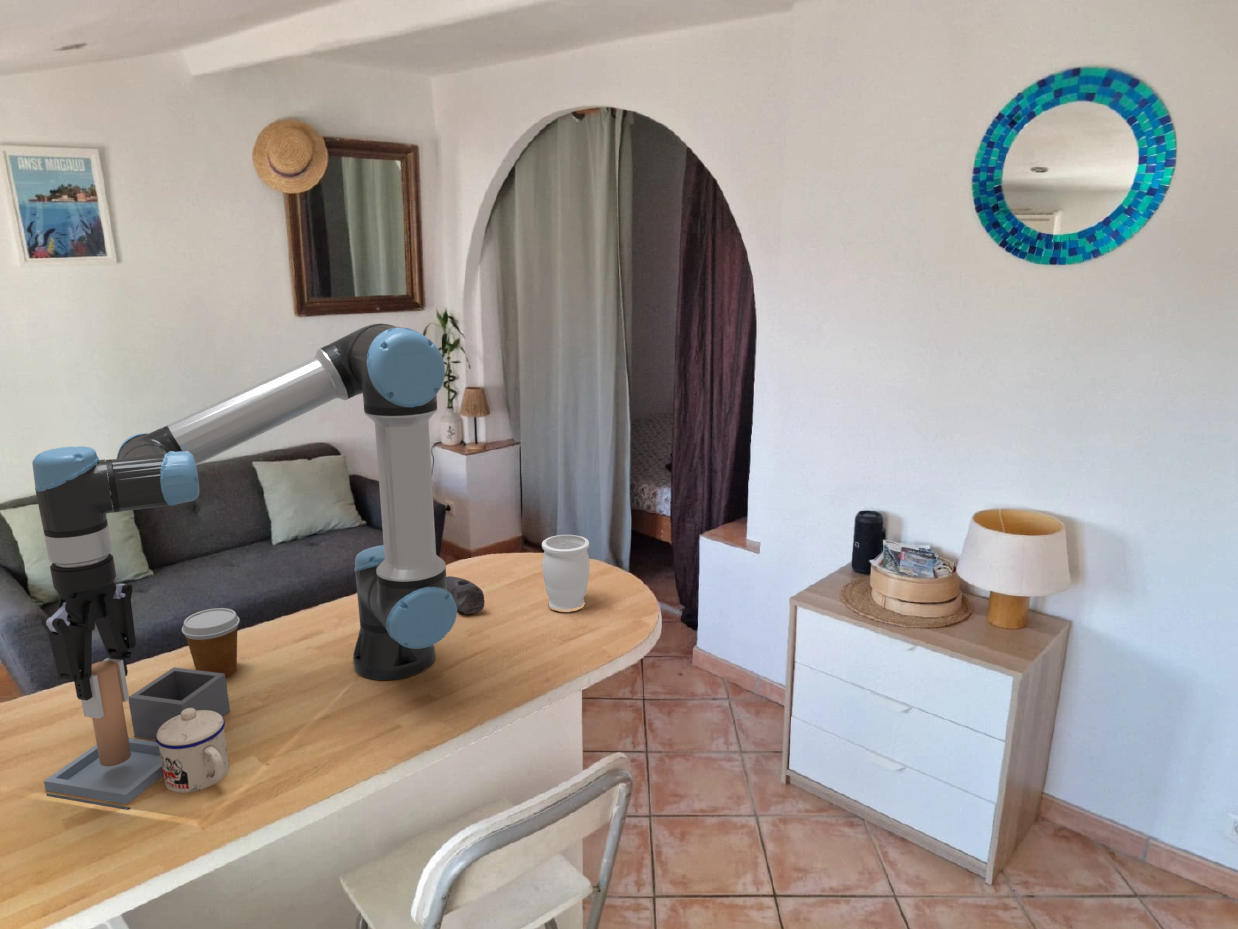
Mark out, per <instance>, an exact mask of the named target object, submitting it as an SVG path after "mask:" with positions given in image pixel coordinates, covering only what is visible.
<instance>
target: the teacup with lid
mask: <svg viewBox="0 0 1238 929" xmlns="http://www.w3.org/2000/svg"><path fill="white" fill-rule="evenodd" d="M225 725H226V721H225V719H224V716H223V717H222V716H221V715H220V714H219V713H217V712H214V711H210V710H197V711H196V710H195V709H194V708H187V709H184V710H183V711H182V712H181V714H180V715H178V716H175V717H173V718H171V719H170V720H168V721H167V722H165V723H164V724H163V725H162V726H161V727H160V728H159V730H158V732H157V735H156V740H155V742H157V743H158V744H159V750H160V756H161V762H162V768H163V779H164V780H163V781H164V785H165V787H166V788H167V790H169V791H172V792H173V793H174V792H175V793H193V792H197V791H201V790H205V789H207V788H209V787H211V786H213V785H215V784H217V783H218V782H220V781H221V780H222V779H223V778H224V777H226V776H227V774H228V772H229V770H230V763H229V757H228V748H227V742H226V735H225Z"/></svg>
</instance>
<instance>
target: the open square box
mask: <svg viewBox="0 0 1238 929" xmlns="http://www.w3.org/2000/svg"><path fill="white" fill-rule="evenodd" d="M127 702H128V705H129V712H130V717H131V723H132V724H131V726H132V729H133V730H132V731H133V736H134V737H136V738H140V739H141V738H142V739H147V740H149V739H150V740H153V741H154V740H155V741H156V735H157V732H158V730H159V728H160V727H161V726H162V725H163V724H164V723H165V722H167V721H168V720H170V719H171V718H173V717H175V716H178V715H180V714H181V712H182V711H183V710H184V709H187V708H194V709H195V710H196V711H197V710H210V711H214V712H217V713H219V714H220V715H221V716H222V717H223V718H224V717H225V716H226V715H227V714H229V713H230V712H231V709H230V701H229V694H228V687H227V678H226V677H225V674H223V673H215V672H207V671H199V670H196V669H191V668H190V669H189V668H182V667H181V668H180V667H172V668H170V669H169V670H167V671H165V673H163V674H161V675H159V676H158V677H157V678H155V679H154V680H152V681H151V682H149V683H148V684H146V685H144V686H143V687H141V688H140V689H139V690H137V691H135V692H133V693H132V694H130V695H129V700H128V701H127Z"/></svg>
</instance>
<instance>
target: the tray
mask: <svg viewBox="0 0 1238 929" xmlns="http://www.w3.org/2000/svg"><path fill="white" fill-rule="evenodd" d="M128 739H129V745H130V751H131V756H130V758H129V759H128V760H127V761H125V762H123V763H121V764H119V765H115V766H109V767H107V766H102V765H101V764H100V760H99V754H98V749H97V744H95V745H94V746H92V747H90V748H89V749H88V750H87V751H85V752H83V753H82V754H81V755H79V756H78V757H76V758H75V759H74V760H72V761H71V762H69V763H68V764H66V765H65V766H63V767H61V769H59V770H57V771H56V772H55V773H53V774H52V775H50V776H49V777H48V778H46V779H45V780H43V785H44V789H45V791H47V792H46V793H45V794H46V797H51V798H55V799H62V800H68V801H73V802H79V803H85V804H91V805H97V806H102V807H108V808H114V809H120V810H125V811H126V810H127V811H129V810H130V809H131V807H129V806H122V805H118V804H124V805H129V804H130V803H131V802H132V801H133V800H134V799H136V798H137V797H138V796H139V795H140V794H142V793H143V792H145V791H146V790H147V789H148V788H149V787H151V786H152V785H153V784H154V783H156V782H157V781H158V780H160V779H161V778H162V777H164V775H163V768H162V762H161V756H160V750H159V744H158V743H157V742H156V741H154V740H153V741H152V740H145V739H139V738H138V739H137V738H132V737H128ZM48 792H52V793H53V792H54V793H58V794H52V793H48ZM60 794H65V795H66V796H64V795H60ZM67 795H69V796H67ZM70 795H71V796H75V797H81V798H75V797H71V796H70ZM82 798H87V799H82ZM88 799H92V800H88ZM94 799H95V800H100V801H101V802H100V801H94ZM102 801H107V802H112V803H117V804H111V803H106V802H102Z"/></svg>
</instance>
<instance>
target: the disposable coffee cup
mask: <svg viewBox="0 0 1238 929" xmlns="http://www.w3.org/2000/svg"><path fill="white" fill-rule="evenodd" d="M239 624H240V617H239V616H238V615H237V613H236V611H235V610H233V609H232V608H224V607H221V608H220V607H218V608H209V609H204V610H200V611H198V612H195V613H193V614H190V615H189V616H187V617H186V619H184V621H183V625H182V628H181V633H182V634H183V635H184V636H185V638H186V642H187V644H188V649H189V651H190V655H191V658H192V662H193V666H194V668H195V670H199V671H207V672H215V673H223V674H225V677H226V679H227V678H229V677H230V678H231V677H232V676H233V675H234V674H235V673H236V672H237V666H238V627H239Z"/></svg>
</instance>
